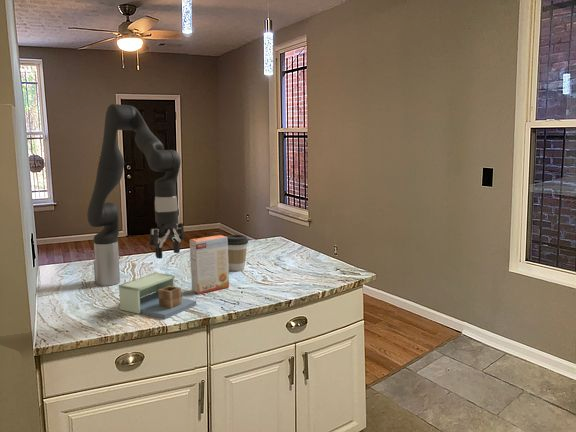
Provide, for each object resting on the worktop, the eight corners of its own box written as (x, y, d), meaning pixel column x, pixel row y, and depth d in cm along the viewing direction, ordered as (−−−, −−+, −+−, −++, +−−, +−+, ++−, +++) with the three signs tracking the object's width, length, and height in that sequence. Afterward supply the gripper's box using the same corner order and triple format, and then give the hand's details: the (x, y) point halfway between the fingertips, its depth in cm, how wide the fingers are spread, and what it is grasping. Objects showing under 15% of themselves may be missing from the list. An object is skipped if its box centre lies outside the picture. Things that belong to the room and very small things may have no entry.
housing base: (122, 308, 178) (121, 293, 177) (155, 296, 192) (154, 282, 191) (165, 319, 168) (164, 303, 168) (196, 304, 182) (195, 290, 181)
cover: (120, 309, 177) (118, 285, 176) (157, 294, 193) (156, 272, 191) (138, 313, 173) (137, 289, 171) (175, 298, 188) (174, 275, 187)
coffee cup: (250, 266, 234) (250, 234, 231) (246, 272, 223) (246, 239, 220) (226, 265, 235) (226, 233, 233) (221, 272, 224) (220, 239, 221)
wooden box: (159, 306, 177) (158, 289, 176) (169, 301, 181) (169, 285, 180) (170, 308, 174) (170, 292, 173) (181, 304, 179) (180, 287, 178)
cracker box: (222, 284, 207) (220, 234, 203) (229, 287, 202) (228, 236, 198) (190, 290, 198) (189, 238, 195) (197, 294, 194) (196, 241, 190)
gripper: (172, 205, 180) (174, 249, 182) (142, 211, 167) (145, 258, 170) (188, 207, 176) (190, 252, 179) (159, 213, 164) (161, 261, 167)
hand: (168, 255), depth 174 cm, fingers open, 8 cm apart
